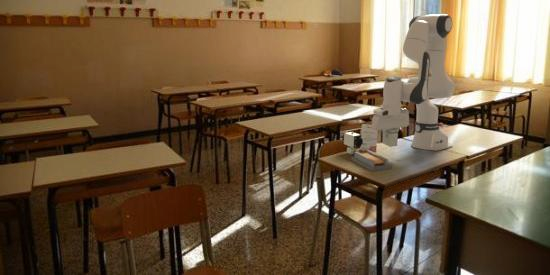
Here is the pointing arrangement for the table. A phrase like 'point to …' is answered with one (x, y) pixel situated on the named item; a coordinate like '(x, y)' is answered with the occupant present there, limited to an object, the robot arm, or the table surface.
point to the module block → (391, 137)
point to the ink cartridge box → (368, 138)
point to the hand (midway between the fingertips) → (390, 136)
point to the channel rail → (370, 161)
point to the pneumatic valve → (352, 141)
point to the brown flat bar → (373, 158)
